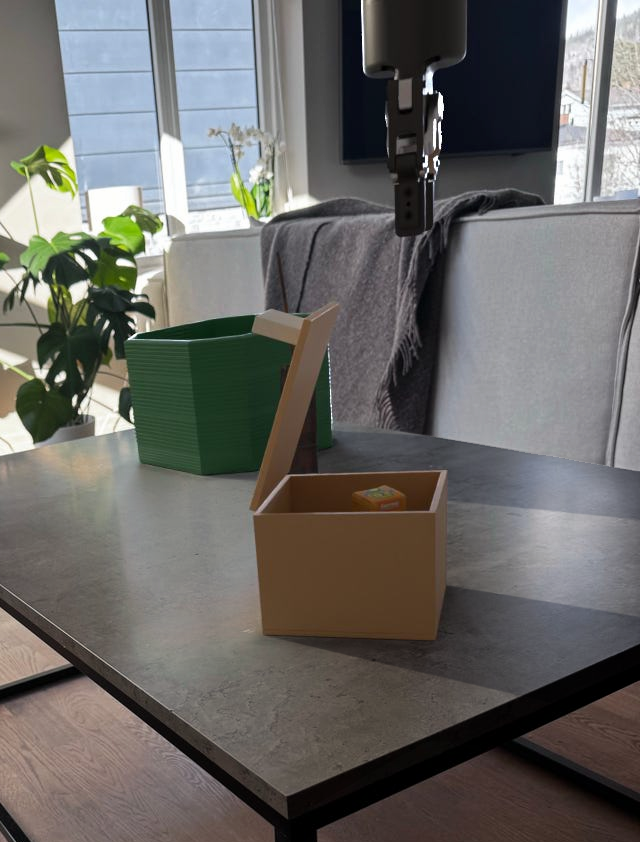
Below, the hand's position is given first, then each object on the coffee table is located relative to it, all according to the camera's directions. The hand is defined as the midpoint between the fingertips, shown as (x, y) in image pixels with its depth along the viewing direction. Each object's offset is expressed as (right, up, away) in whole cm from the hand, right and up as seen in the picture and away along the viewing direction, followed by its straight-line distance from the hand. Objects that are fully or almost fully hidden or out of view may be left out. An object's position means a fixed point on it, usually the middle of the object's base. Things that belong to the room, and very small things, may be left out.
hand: (415, 233), depth 74 cm
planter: (-9, -4, +67) cm, 68 cm away
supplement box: (-2, -30, +5) cm, 30 cm away
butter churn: (-1, -12, +46) cm, 47 cm away
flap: (-10, -14, 0) cm, 17 cm away
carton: (-4, -30, +6) cm, 31 cm away
